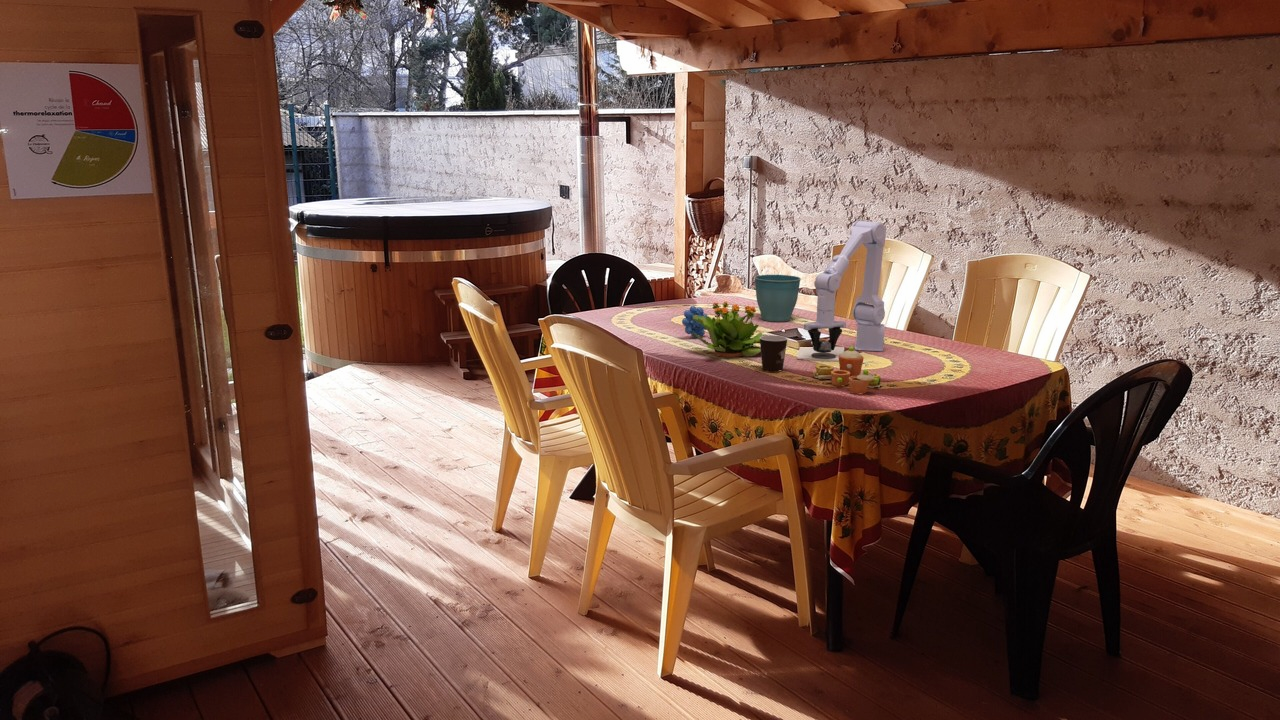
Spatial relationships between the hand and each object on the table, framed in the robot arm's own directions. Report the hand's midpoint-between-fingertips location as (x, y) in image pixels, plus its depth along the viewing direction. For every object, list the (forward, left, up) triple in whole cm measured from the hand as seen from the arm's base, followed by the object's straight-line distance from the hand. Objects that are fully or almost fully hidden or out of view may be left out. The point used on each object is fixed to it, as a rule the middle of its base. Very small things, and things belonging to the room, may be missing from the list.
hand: (823, 350), depth 313 cm
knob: (0, 0, 0) cm, 0 cm away
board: (+1, -6, -3) cm, 7 cm away
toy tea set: (-9, +31, -3) cm, 33 cm away
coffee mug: (+14, +18, -3) cm, 23 cm away
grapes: (+46, -21, -3) cm, 51 cm away
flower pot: (+21, -64, -3) cm, 67 cm away
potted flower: (+32, +2, -3) cm, 32 cm away
